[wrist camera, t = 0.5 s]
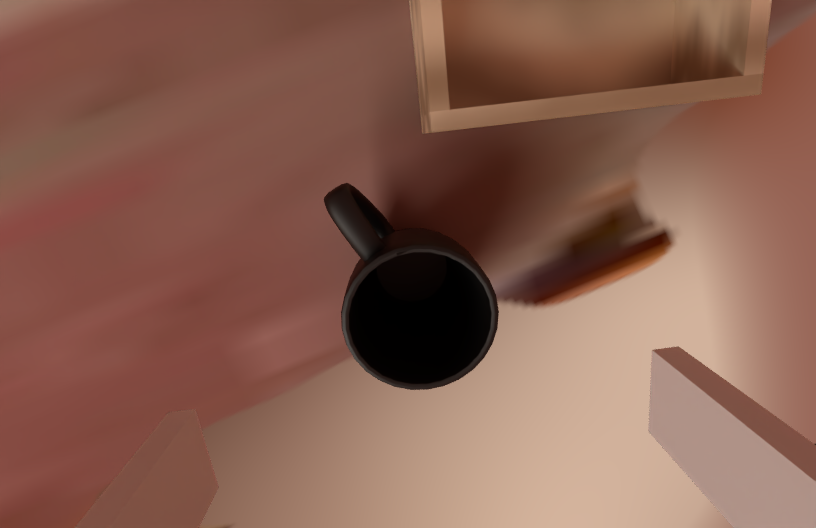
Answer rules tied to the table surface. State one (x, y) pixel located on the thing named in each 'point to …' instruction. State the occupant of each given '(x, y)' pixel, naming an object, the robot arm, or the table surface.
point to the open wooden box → (580, 56)
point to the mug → (411, 299)
